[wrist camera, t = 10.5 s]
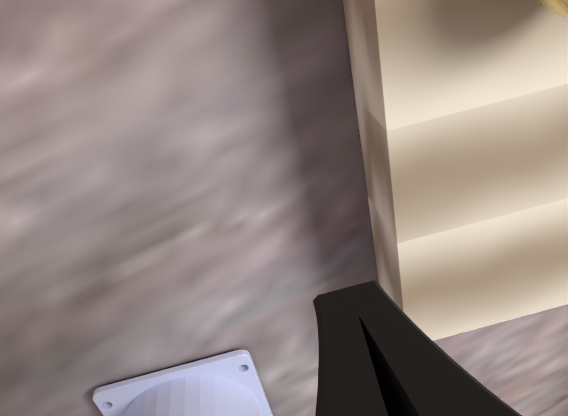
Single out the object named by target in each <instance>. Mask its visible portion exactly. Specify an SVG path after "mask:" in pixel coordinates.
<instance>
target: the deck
mask: <svg viewBox="0 0 568 416" xmlns="http://www.w3.org/2000/svg"><path fill="white" fill-rule="evenodd" d="M343 7H344V14H345V22H346V30H347V38H348V46H349V54H350V61H351V69H352V77H353V85H354V93H355V101H356V108H357V116H358V124H359V132H360V140H361V147H362V155H363V163H364V171H365V179H366V187H367V194H368V202H369V210H370V218H371V226H372V234H373V241H374V249H375V257H376V265H377V273H378V280H379V285H380V286H381V287H382V288H383V290H384V291H385V292H386V293H387V294H388V295H389V297H390V298H391V299H392V300H393V301H394V302H395V303H396V304H397V306H398V307H399V308H400V309H401V310H402V311H403V312H404V313H405V314H406V315H407V316H408V317H409V318H410V319H411V320H412V321H413V322H414V323H415V324H416V325H417V326H418V327H419V328H420V329H421V330H422V331H423V332H424V333H425V334H426V335H427V336H428V337H429V338H430V339H431V340H432V341H433V340H437V339H441V338H445V337H448V336H452V335H456V334H459V333H463V332H467V331H470V330H474V329H478V328H481V327H485V326H489V325H492V324H496V323H500V322H503V321H507V320H511V319H515V318H518V317H522V316H526V315H529V314H533V313H537V312H540V311H544V310H548V309H551V308H555V307H559V306H562V305H566V304H568V18H565V17H562V16H559V15H556V14H554V13H552V12H550V11H548V10H547V9H546V8H544V7H543V6H542V5H540V4H539V3H538V2H537V1H536V0H343Z"/></svg>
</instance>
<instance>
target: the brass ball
mask: <svg viewBox="0 0 568 416" xmlns="http://www.w3.org/2000/svg"><path fill="white" fill-rule="evenodd" d="M536 1H537V2H538V3H539V4H540V5H542V6H543V7H544V8H546V9H547V10H548V11H550V12H552V13H554V14H556V15H559V16H562V17H565V18H568V0H536Z"/></svg>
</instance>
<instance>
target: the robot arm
mask: <svg viewBox="0 0 568 416" xmlns="http://www.w3.org/2000/svg"><path fill="white" fill-rule="evenodd" d="M313 303H314V307H315V311H316V316H317V324H318V338H319V368H318V393H317V404H316V415H315V416H522V415H520V414H519V413H518V412H516V411H515V410H514V409H512V408H511V407H510V406H508V405H507V404H506V403H504V402H503V401H502V400H501V399H499V398H498V397H497V396H496V395H494V394H493V393H492V392H491V391H489V390H488V389H487V388H486V387H484V386H483V385H482V384H481V383H480V382H478V381H477V380H476V379H475V378H474V377H473V376H471V375H470V374H469V373H468V372H467V371H465V370H464V369H463V368H462V367H461V366H460V365H458V364H457V363H456V362H455V361H454V360H453V359H452V358H451V357H449V356H448V355H447V354H446V353H445V352H444V351H443V350H442V349H441V348H440V347H439V346H438V345H437V344H435V343H434V342H433V341H432V340H431V339H430V338H429V337H428V336H427V335H426V334H425V333H424V332H423V331H422V330H421V329H420V328H419V327H418V326H417V325H416V324H415V323H414V322H413V321H412V320H411V319H410V318H409V317H408V316H407V315H406V314H405V313H404V312H403V311H402V310H401V309H400V308H399V307H398V306H397V304H396V303H395V302H394V301H393V300H392V299H391V298H390V297H389V295H388V294H387V293H386V292H385V291H384V290H383V288H382V287H381V286H380V285H379V283H377V282H375V281H370V282H366V283H362V284H359V285H355V286H351V287H347V288H344V289H340V290H336V291H333V292H329V293H325V294H321V295H318V296H317V297H316V298H315V299H314V300H313ZM241 365H244V366H241ZM92 399H93V402H94V403H95V404H96V406H97V407H98V409H99V410H100V411H101V413H102V414H103V416H273V414H272V411H271V409H270V406H269V403H268V401H267V398H266V395H265V393H264V390H263V387H262V385H261V382H260V379H259V376H258V374H257V371H256V368H255V366H254V363H253V360H252V358H251V355H250V353H249V352H248V351H246V350H242V349H241V350H236V351H232V352H228V353H224V354H221V355H217V356H213V357H210V358H206V359H202V360H198V361H195V362H191V363H187V364H184V365H180V366H176V367H172V368H169V369H165V370H161V371H158V372H154V373H150V374H147V375H143V376H139V377H135V378H132V379H128V380H124V381H121V382H117V383H113V384H109V385H106V386H102V387H99V388H97V389H96V390H95V391H94V393H93V398H92Z"/></svg>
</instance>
